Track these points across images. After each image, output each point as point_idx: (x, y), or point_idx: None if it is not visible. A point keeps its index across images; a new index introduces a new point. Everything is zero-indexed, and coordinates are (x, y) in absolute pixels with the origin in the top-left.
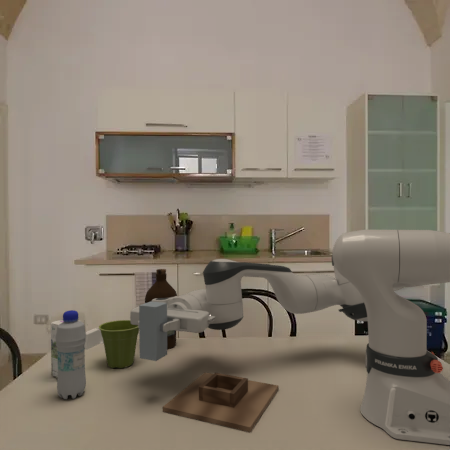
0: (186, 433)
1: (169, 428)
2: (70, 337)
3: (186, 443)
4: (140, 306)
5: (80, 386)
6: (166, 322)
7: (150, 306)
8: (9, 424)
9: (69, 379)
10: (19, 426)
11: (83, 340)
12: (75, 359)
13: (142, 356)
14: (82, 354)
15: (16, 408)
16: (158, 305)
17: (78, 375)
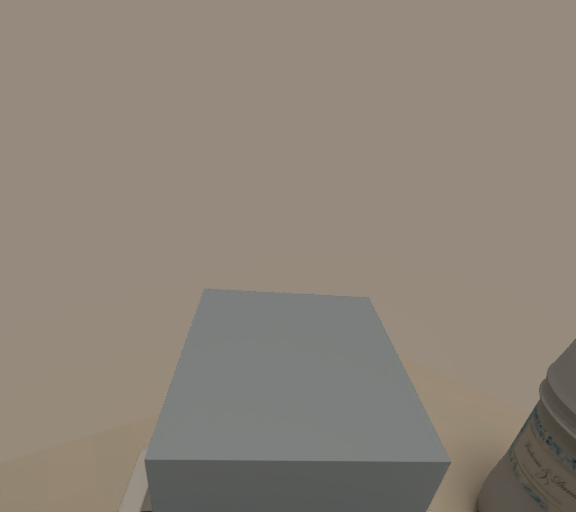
0: (65, 488)
1: (121, 491)
2: (558, 360)
3: (64, 449)
4: (355, 303)
5: (488, 510)
6: (150, 507)
7: (260, 292)
8: (442, 379)
9: (500, 461)
10: (422, 381)
11: (574, 422)
12: (526, 435)
13: None
14: (549, 460)
15: (510, 420)
16: (210, 329)
17: (504, 482)
